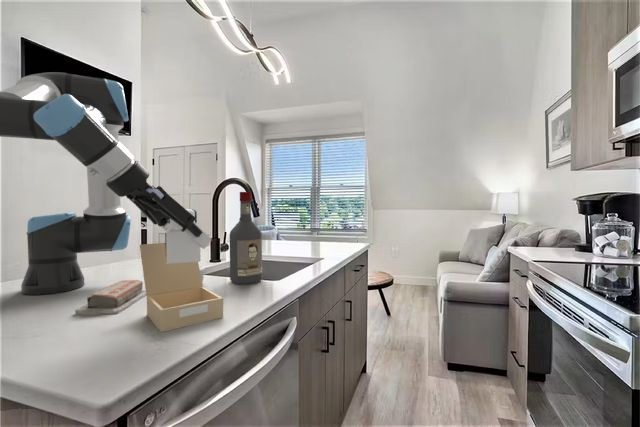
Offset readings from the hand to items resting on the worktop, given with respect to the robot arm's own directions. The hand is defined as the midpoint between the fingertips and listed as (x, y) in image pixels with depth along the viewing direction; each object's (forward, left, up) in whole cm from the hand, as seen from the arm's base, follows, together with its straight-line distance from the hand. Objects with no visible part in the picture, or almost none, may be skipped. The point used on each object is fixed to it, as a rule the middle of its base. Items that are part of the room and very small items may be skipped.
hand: (196, 242), depth 77 cm
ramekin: (-29, +6, -17) cm, 34 cm away
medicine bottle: (+1, -3, -4) cm, 5 cm away
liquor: (-21, +23, -17) cm, 36 cm away
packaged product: (-22, -14, -18) cm, 31 cm away
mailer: (-3, -3, -17) cm, 17 cm away
